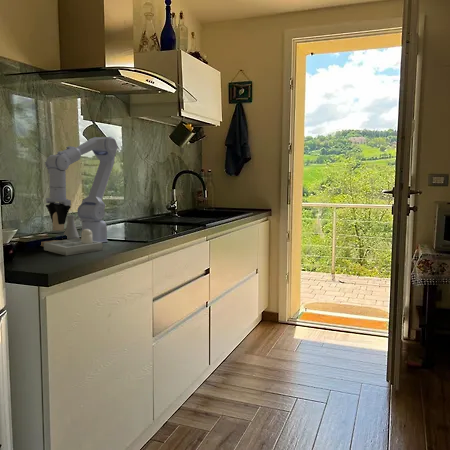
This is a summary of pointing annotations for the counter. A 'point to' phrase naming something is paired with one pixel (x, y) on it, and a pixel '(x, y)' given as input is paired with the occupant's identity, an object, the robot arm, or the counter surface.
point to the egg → (55, 223)
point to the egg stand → (47, 241)
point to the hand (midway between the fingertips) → (58, 223)
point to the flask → (71, 228)
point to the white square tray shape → (75, 245)
